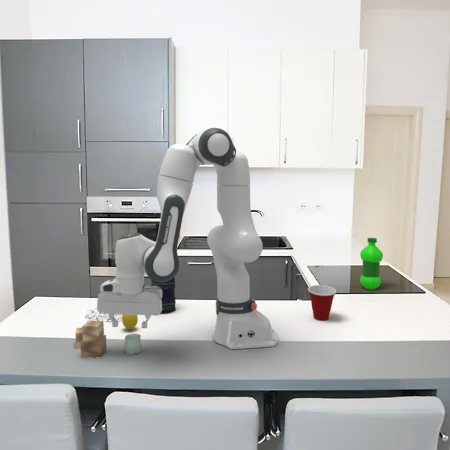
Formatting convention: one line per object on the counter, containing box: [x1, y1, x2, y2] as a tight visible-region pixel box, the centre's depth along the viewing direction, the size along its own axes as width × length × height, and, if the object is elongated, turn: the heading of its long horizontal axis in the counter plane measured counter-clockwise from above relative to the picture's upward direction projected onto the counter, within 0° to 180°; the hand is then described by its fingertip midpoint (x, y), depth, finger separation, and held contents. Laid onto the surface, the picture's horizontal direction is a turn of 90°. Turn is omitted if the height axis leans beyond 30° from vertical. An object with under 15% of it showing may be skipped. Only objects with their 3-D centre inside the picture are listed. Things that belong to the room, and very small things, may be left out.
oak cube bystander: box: [74, 327, 83, 349], centre depth 137 cm, size 5×5×5 cm
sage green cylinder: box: [124, 333, 142, 355], centre depth 132 cm, size 5×5×5 cm
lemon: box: [121, 314, 139, 331], centre depth 150 cm, size 6×6×8 cm
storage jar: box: [150, 277, 176, 315], centre depth 171 cm, size 10×10×15 cm
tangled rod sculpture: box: [84, 307, 123, 321], centre depth 165 cm, size 19×14×4 cm
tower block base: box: [80, 334, 108, 359], centre depth 130 cm, size 6×6×5 cm
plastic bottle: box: [359, 237, 384, 291], centre depth 202 cm, size 10×10×25 cm
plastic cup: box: [307, 284, 337, 321], centre depth 161 cm, size 11×11×12 cm
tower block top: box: [81, 320, 105, 342], centre depth 130 cm, size 5×5×5 cm
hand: (129, 327), depth 131 cm, fingers open, 8 cm apart
